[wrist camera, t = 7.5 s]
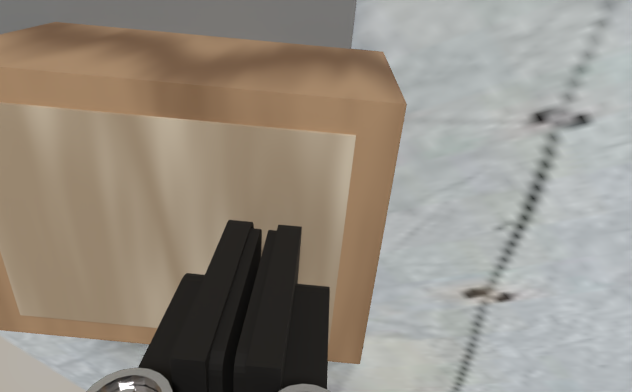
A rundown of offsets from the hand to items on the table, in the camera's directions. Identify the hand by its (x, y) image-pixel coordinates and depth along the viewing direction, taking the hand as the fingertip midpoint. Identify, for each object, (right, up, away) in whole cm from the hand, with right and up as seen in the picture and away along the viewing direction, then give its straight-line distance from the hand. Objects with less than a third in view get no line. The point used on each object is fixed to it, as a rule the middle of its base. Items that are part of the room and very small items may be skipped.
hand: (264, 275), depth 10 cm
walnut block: (+3, +2, +4) cm, 5 cm away
